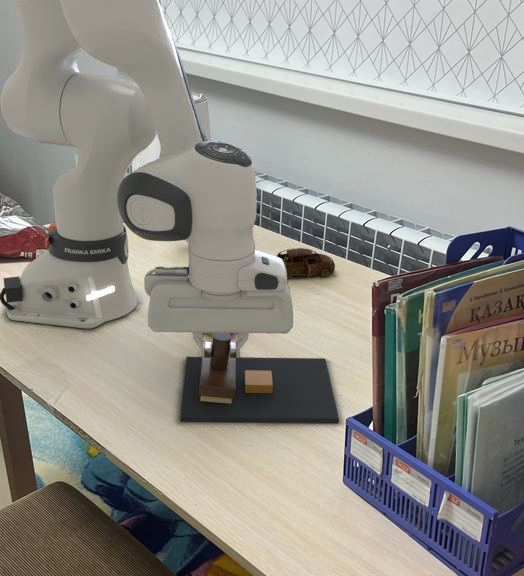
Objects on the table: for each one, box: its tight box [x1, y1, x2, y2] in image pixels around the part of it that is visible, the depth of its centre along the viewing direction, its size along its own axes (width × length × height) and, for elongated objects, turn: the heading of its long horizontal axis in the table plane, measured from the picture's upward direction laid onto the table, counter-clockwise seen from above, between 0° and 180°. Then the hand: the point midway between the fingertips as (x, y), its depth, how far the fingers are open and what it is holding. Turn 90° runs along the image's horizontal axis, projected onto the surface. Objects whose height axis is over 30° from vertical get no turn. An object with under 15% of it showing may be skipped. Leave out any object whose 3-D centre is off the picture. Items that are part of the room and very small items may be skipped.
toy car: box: [275, 247, 336, 280], centre depth 138 cm, size 12×7×5 cm, turn 102°
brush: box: [199, 333, 236, 404], centre depth 100 cm, size 11×5×8 cm, turn 2°
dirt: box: [245, 370, 273, 393], centre depth 102 cm, size 4×4×1 cm
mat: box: [179, 356, 340, 424], centre depth 103 cm, size 22×16×1 cm
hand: (220, 355), depth 100 cm, fingers closed on brush, 3 cm apart
